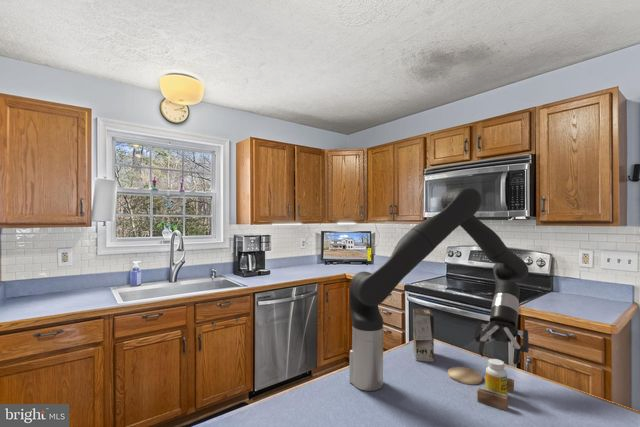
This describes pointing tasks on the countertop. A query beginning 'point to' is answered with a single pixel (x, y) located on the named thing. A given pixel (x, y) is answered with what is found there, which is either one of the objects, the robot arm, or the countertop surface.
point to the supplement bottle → (496, 376)
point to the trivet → (465, 375)
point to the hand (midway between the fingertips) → (498, 359)
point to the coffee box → (423, 334)
